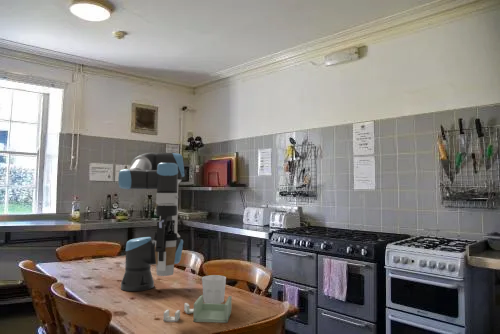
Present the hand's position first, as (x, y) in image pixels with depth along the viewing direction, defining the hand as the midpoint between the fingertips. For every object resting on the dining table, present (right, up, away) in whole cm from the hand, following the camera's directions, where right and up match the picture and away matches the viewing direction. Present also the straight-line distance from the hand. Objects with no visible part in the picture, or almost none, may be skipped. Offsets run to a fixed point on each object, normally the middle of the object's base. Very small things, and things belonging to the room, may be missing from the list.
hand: (165, 268), depth 138 cm
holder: (+17, -18, +2) cm, 25 cm away
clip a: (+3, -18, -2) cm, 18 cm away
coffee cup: (0, -2, 0) cm, 2 cm away
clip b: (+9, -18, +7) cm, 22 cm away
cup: (+16, -20, +21) cm, 32 cm away
